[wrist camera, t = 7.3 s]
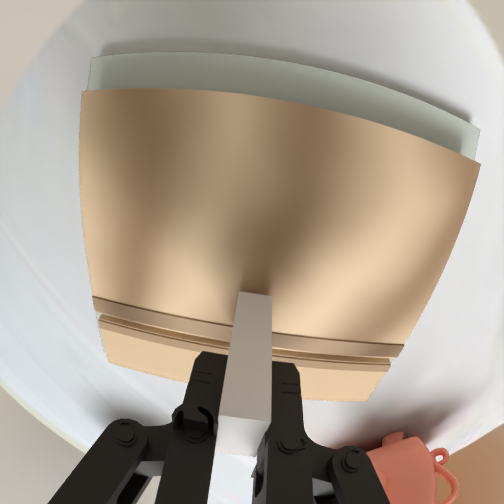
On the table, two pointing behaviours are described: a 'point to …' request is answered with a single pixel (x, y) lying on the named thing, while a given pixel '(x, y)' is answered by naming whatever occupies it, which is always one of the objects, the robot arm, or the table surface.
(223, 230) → the board
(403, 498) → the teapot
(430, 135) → the pad
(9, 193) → the table surface
